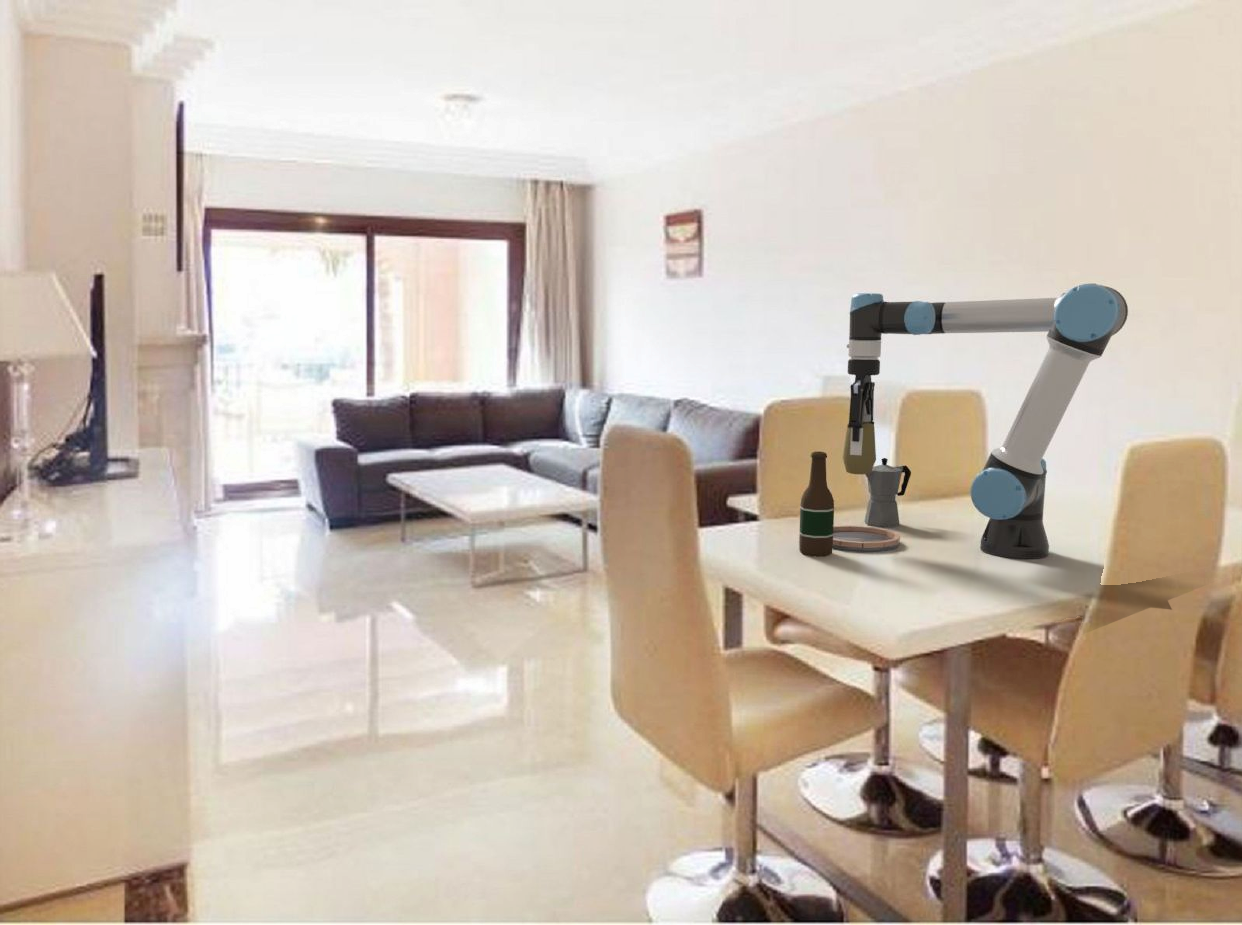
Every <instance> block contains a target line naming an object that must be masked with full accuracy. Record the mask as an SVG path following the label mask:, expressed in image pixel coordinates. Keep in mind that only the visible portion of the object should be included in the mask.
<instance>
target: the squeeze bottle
mask: <svg viewBox="0 0 1242 925" xmlns="http://www.w3.org/2000/svg"><path fill="white" fill-rule="evenodd" d="M869 422H871V415H869V414H867V412H866V406H864V414H863V422H862V428H863V442H862V455H850V444H851V428H848V425H849V423H848V424H847V426H846V432H845V440H844V446H843V452H842V453H843V454H842V460H843V465H844V467H845V472H846V473H848V474H851V475H852V474H853V475H865V474H869V473H871V471H872V469H873V467H874V466H875V463H876V461H877V451H876V435H875V433H876V431H875V424H874V425H873V424H871V423H869Z"/></svg>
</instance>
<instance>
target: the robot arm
mask: <svg viewBox="0 0 1242 925" xmlns="http://www.w3.org/2000/svg"><path fill="white" fill-rule="evenodd" d="M883 295H884V294H882V293H873V292H872V293H871V292H870V293H868V292H867V293H854V294H853V295H852V296H851V300H850V309H849V332H848V333H849V336H848V340H849V341H848V343H847V344H846V348H847V349H848V357H850V358H849V359H848V360H847V374H848V375H850V376H854V382H853V384H851V385H850V399H849V400H850V402H849V414H848V415H849V416H848V424H849V425H848V424H847V425H848V428H851V444H850V455H862V442H863V428H862V422H863V414H864V406H866V412H867V414H869V415H871V422H869V423H871V424H873V425H874V426H875V421H874V396H875V385H876V382H873V381H872V376H878V375H880V373H881V372H880V371H881V370H880V368H881V360H879V358H881V357H882V356H881V354H882V334H885V335H887V334H891V335H913V336H916V335H917V336H919V335H935V334H936V335H937V334H938V335H940V334H943V335H944V334H978V333H979V334H981V333H982V334H984V333H985V334H986V333H987V334H989V333H990V334H995V333H1040V332H1043V333H1046V332H1047V334H1046V340H1047V342H1048V345H1049V347H1048V349H1047V352H1046V354H1045V356H1044V358H1043V360H1042V362H1041V364H1040V366H1039V368H1038V370H1037V373H1036V375H1035V376H1034V379H1033V381H1032V383H1031V385H1030V387H1029V389H1028V391H1027V393H1026V395H1025V398H1024V400H1023V402H1022V404H1021V405H1020V408H1019V411H1018V412H1017V414H1016V416H1015V419H1014V421H1013V423H1012V425H1011V427H1010V429H1009V432H1008V433H1007V435H1006V438H1005V440H1004V442H1003V444H1002V446H1000V447H998V448H997V447H996V448H994V449H993V450H992V451H991V452H990V454H989V457H988V458H987V461H986V463H985V465H984V466H983V469H982V470H981V471H980V472H979V473H978V474H977V475H976V476H975V477H974V479H973V481H972V483H971V486H970V493H969V494H970V498H971V501H972V504H973V506H974V508H976V511H978V512H979V513H980V514H981V515H984V517H987V518H988V521H987V524H986V526H985V529H984V532H983V534H982V536H981V539H980V547H979V548H980V550H981V551H982V552H983V553H987V554H990V555H994V556H999V557H1004V558H1005V557H1006V558H1013V559H1039V558H1045V557H1048V556H1049V554H1050V545H1049V540H1048V536H1047V533H1046V529H1045V526H1044V521H1043V520H1044V508H1045V505H1044V504H1045V495H1046V494H1045V492H1046V479H1047V473H1048V471H1047V462H1046V460H1045V459H1044V455H1045V454H1046V452H1047V449H1048V448H1049V445H1050V443H1051V441H1052V439H1053V437H1054V436H1055V434H1056V431H1057V429H1058V427H1059V425H1060V423H1061V421H1062V419H1063V417H1064V415H1065V413H1066V412H1067V410H1068V407H1069V405H1070V403H1071V402H1072V399H1073V397H1074V395H1075V394H1076V391H1077V389H1078V387H1079V385H1080V383H1081V381H1082V379H1083V377H1084V375H1085V373H1086V372H1087V369H1088V367H1089V364H1090V363H1091V362H1092V361H1094V360H1097V359H1100V358H1102V356H1103V354H1104V351H1105V350H1106V348H1107V346H1108V344H1109V342H1110V340H1111V338H1112V337H1113V336H1114V335H1116V334H1117V333H1119V331H1120V330H1121V329H1123V327H1124V326H1125V324H1126V322H1127V320H1128V315H1129V308H1128V303H1127V301H1126V299H1125V297H1124V296H1123V295H1122V294H1121V292H1119V291H1118V290H1117V289H1114V288H1112V287H1110V286H1105V285H1102V284H1097V283H1082V284H1079V285H1075V286H1074V287H1073V288H1070V289H1069V290H1067V291H1066V292H1063V293H1061V294H1060V295H1059V296H1057V297H1047V298H1045V297H1044V298H1043V297H1041V298H1040V297H1039V298H1020V299H1019V298H1018V299H1017V298H1016V299H994V300H991V299H990V300H971V301H970V300H967V301H947V302H945V301H944V302H941V301H940V302H938V301H937V302H928V301H920V300H919V301H918V300H914V301H884V296H883Z"/></svg>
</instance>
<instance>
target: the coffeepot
mask: <svg viewBox="0 0 1242 925" xmlns="http://www.w3.org/2000/svg"><path fill="white" fill-rule="evenodd" d="M888 461H889V459H888V458H886V457H884V458H883V457H882V458H881V464H879V465H874V466H873V469H872V471H871V473H869V474H864V475H865V477H866V478H867V480H866V481H867V489H868V493H869V494H870V495H869V500H868V503H867V507H866V513H865V518H864V521H863V522H864V523H865V524H866V525H867V526H869V527H876V528H895V527H898V526H899V525H900V518H899V509H898V503H897V500H896V498H897V496H898V497H903V496H904V495H905V493H906V490H907V487H908V484H909V482H910V481H909V480H910V478H911V475H912V471H911V470H910V468H909V467H908V466H907V465H896V466H892V465H888V464H887V463H888ZM902 473H904V475H903V480H902V481H903V482H902V483H901V489H900V491H899V488H900V482H901V479H902Z"/></svg>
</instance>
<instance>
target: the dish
mask: <svg viewBox="0 0 1242 925" xmlns="http://www.w3.org/2000/svg"><path fill="white" fill-rule="evenodd" d="M900 540H901V534H899V533H897V532H896V531H893V530H890V529H885V528H882V527H875V526H869V525H867V526H866V525H849V524H848V525H833V548H832V550H834V549H835V550H838V549H839V551H846V552H858V553H859V552H860V553H871V552H872V553H873V552H874V553H879V552H887V551H892V550H894V549H897V548H898V547H899V546H900V542H901V541H900Z"/></svg>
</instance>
